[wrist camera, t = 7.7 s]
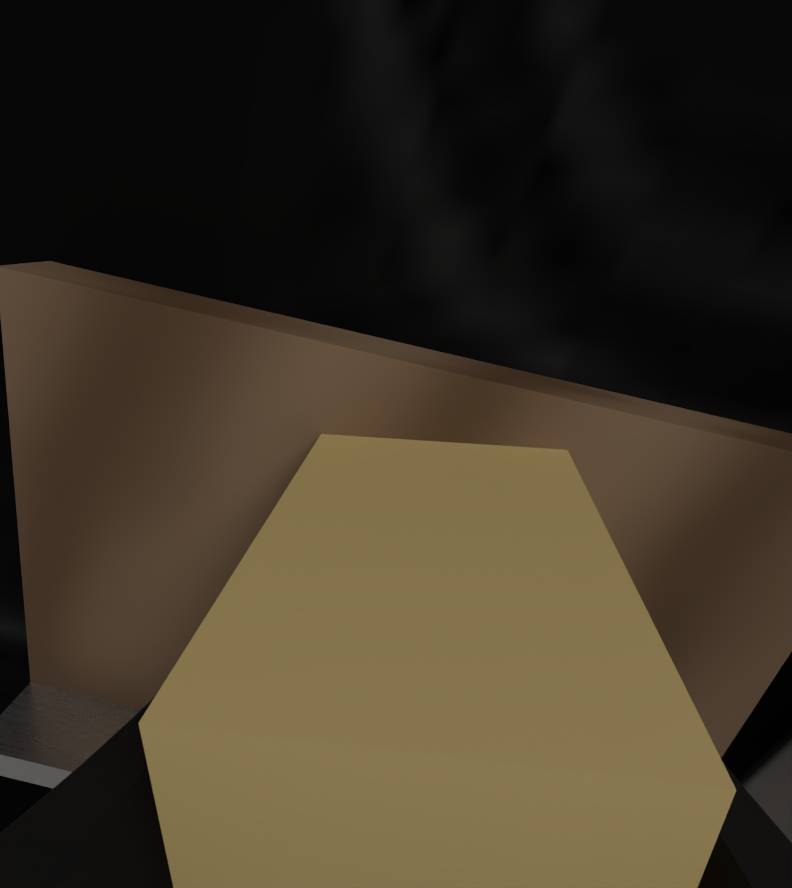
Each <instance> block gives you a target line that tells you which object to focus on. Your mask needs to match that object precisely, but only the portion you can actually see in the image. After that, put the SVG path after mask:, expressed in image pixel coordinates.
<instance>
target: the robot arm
mask: <svg viewBox="0 0 792 888" xmlns="http://www.w3.org/2000/svg"><path fill="white" fill-rule="evenodd" d="M154 698H155V697H154ZM154 698H153V699H154ZM153 699H152V700H151V701H150V702H149V703H147V704H146V705H145V706H144V707H143V708H142V709H141V710H140V711H139V712H138V713H137V714H136V715H135V716H134V717H133V718H132V719H131V720H130V721H128V722H127V723H126V724H125V725H124V726H123V727H122V728H121V729H120V730H119V731H118V732H116V733H115V734H114V735H113V736H112V737H111V738H110V739H109V740H108V741H107V742H106V743H104V744H103V745H102V746H101V747H100V748H99V749H98V750H97V751H96V752H95V753H93V754H92V755H91V756H90V757H89V758H88V759H87V760H86V761H85V762H83V763H82V764H81V765H80V766H79V767H78V768H77V769H76V770H74V771H73V772H72V773H71V774H70V775H69V776H67V777H66V778H65V779H64V780H63V781H61V782H60V783H59V784H58V785H57V786H56V787H54V788H53V789H52V790H51V791H50V792H49V793H47V794H46V795H45V796H44V797H43V798H41V799H40V800H39V801H38V802H37V803H36V804H34V805H33V806H32V807H31V808H30V809H29V810H27V811H26V812H25V813H24V814H23V815H21V816H20V817H19V818H18V819H16V820H15V821H14V822H13V823H11V824H10V825H9V826H8V827H6V828H5V829H4V830H3V831H1V832H0V888H173V883H172V879H171V874H170V869H169V865H168V860H167V855H166V851H165V846H164V841H163V836H162V832H161V827H160V822H159V818H158V813H157V808H156V804H155V799H154V794H153V789H152V785H151V780H150V775H149V771H148V766H147V761H146V757H145V752H144V747H143V743H142V738H141V733H140V728H139V724H138V723H139V721H140V720H141V718H142V717H143V715H144V713H145V712H146V710H147V709H148V707H149V706H150V704H151V702H152V701H153ZM722 762H723V761H722ZM723 764H724V763H723ZM724 766H725V768H726V770H727V772H728V774H729V776H730V778H731V780H732V782H733V784H734V786H735V788H736V793H735V795H734V798H733V800H732V803H731V805H730V808H729V810H728V813H727V815H726V818H725V820H724V823H723V825H722V828H721V830H720V833H719V835H718V838H717V840H716V843H715V845H714V848H713V850H712V853H711V855H710V858H709V860H708V863H707V865H706V868H705V870H704V873H703V875H702V878H701V880H700V883H699V885H698V888H792V843H791V842H790V841H789V839H788V838H787V837H786V836H785V835H784V834H783V833H782V831H781V830H780V829H779V828H778V827H777V826H776V824H775V823H774V822H773V821H772V820H771V819H770V818H769V816H768V815H767V814H766V813H765V812H764V811H763V809H762V808H761V807H760V806H759V805H758V803H757V802H756V801H755V800H754V799H753V798H752V796H751V795H750V794H749V793H748V792H747V790H746V789H745V788H744V787H743V786H742V784H741V783H740V782H739V781H738V780H737V778H736V777H735V776H734V775H733V774H732V772H731V771H730V770H729V769H728V768H727V766H726V765H725V764H724Z"/></svg>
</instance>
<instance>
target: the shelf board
mask: <svg viewBox="0 0 792 888" xmlns="http://www.w3.org/2000/svg"><path fill="white" fill-rule="evenodd" d="M0 315H1V327H2V340H3V352H4V364H5V376H6V388H7V400H8V413H9V425H10V437H11V449H12V461H13V473H14V486H15V498H16V510H17V522H18V534H19V547H20V559H21V571H22V583H23V595H24V607H25V620H26V632H27V644H28V656H29V668H30V680H31V682H32V683H36V684H40V685H44V686H48V687H52V688H56V689H60V690H65V691H69V692H73V693H77V694H81V695H85V696H89V697H93V698H98V699H102V700H106V701H110V702H114V703H118V704H122V705H127V706H131V707H135V708H139V709H142V708H143V707H144V706H145V705H146V704H147V703H149V702H150V701H151V700H152V699H153V698H154V697H155V696H156V694H157V693H158V691H159V690H160V688H161V687H162V685H163V683H164V682H165V680H166V679H167V677H168V675H169V674H170V672H171V671H172V669H173V668H174V666H175V664H176V663H177V661H178V660H179V658H180V656H181V655H182V653H183V652H184V650H185V649H186V647H187V645H188V644H189V642H190V641H191V639H192V637H193V636H194V634H195V633H196V631H197V630H198V628H199V626H200V625H201V623H202V622H203V620H204V618H205V617H206V615H207V614H208V612H209V611H210V609H211V607H212V606H213V604H214V603H215V601H216V599H217V598H218V596H219V595H220V593H221V592H222V590H223V588H224V587H225V585H226V584H227V582H228V580H229V579H230V577H231V576H232V574H233V573H234V571H235V569H236V568H237V566H238V565H239V563H240V561H241V560H242V558H243V557H244V555H245V554H246V552H247V550H248V549H249V547H250V546H251V544H252V542H253V541H254V539H255V538H256V536H257V535H258V533H259V531H260V530H261V528H262V527H263V525H264V523H265V522H266V520H267V519H268V517H269V516H270V514H271V512H272V511H273V509H274V508H275V506H276V504H277V503H278V501H279V500H280V498H281V497H282V495H283V493H284V492H285V490H286V489H287V487H288V485H289V484H290V482H291V481H292V479H293V478H294V476H295V474H296V473H297V471H298V470H299V468H300V466H301V465H302V463H303V462H304V460H305V459H306V457H307V455H308V454H309V452H310V451H311V449H312V447H313V446H314V444H315V443H316V441H317V439H318V438H319V436H320V435H321V434H329V435H345V436H360V437H376V438H391V439H407V440H422V441H438V442H453V443H469V444H485V445H500V446H516V447H531V448H547V449H562V450H568V452H569V454H570V456H571V458H572V460H573V462H574V464H575V466H576V468H577V470H578V472H579V474H580V476H581V478H582V480H583V482H584V484H585V486H586V488H587V490H588V492H589V494H590V496H591V498H592V500H593V502H594V504H595V506H596V508H597V510H598V512H599V514H600V517H601V519H602V521H603V523H604V525H605V527H606V529H607V531H608V533H609V535H610V537H611V539H612V541H613V543H614V545H615V547H616V549H617V551H618V553H619V555H620V557H621V559H622V561H623V563H624V565H625V567H626V569H627V571H628V573H629V575H630V577H631V579H632V581H633V583H634V585H635V587H636V589H637V591H638V593H639V595H640V597H641V599H642V601H643V603H644V605H645V607H646V609H647V611H648V613H649V615H650V617H651V619H652V621H653V623H654V625H655V627H656V629H657V631H658V633H659V635H660V637H661V639H662V641H663V643H664V645H665V647H666V649H667V651H668V653H669V655H670V657H671V659H672V661H673V663H674V665H675V667H676V669H677V671H678V673H679V675H680V677H681V679H682V681H683V683H684V685H685V687H686V690H687V692H688V694H689V696H690V698H691V700H692V702H693V704H694V706H695V708H696V710H697V712H698V714H699V716H700V718H701V720H702V722H703V724H704V726H705V728H706V730H707V732H708V734H709V736H710V738H711V740H712V742H713V744H714V746H715V748H716V750H717V752H718V754H719V756H720V758H721V757H722V756H723V754H724V753H725V751H726V750H727V748H728V747H729V745H730V744H731V742H732V741H733V739H734V738H735V736H736V735H737V733H738V732H739V730H740V729H741V727H742V726H743V724H744V723H745V721H746V720H747V718H748V717H749V715H750V714H751V712H752V711H753V709H754V708H755V706H756V705H757V703H758V701H759V700H760V698H761V697H762V695H763V694H764V692H765V691H766V689H767V688H768V686H769V685H770V683H771V682H772V680H773V679H774V677H775V676H776V674H777V673H778V671H779V670H780V668H781V667H782V665H783V664H784V662H785V661H786V659H787V658H788V656H789V655H790V653H791V652H792V434H791V433H787V432H782V431H778V430H774V429H770V428H765V427H761V426H757V425H752V424H748V423H744V422H739V421H735V420H731V419H727V418H722V417H718V416H714V415H709V414H705V413H701V412H696V411H692V410H688V409H684V408H679V407H675V406H671V405H666V404H662V403H658V402H654V401H649V400H645V399H641V398H636V397H632V396H628V395H623V394H619V393H615V392H611V391H606V390H602V389H598V388H593V387H589V386H585V385H580V384H576V383H572V382H568V381H563V380H559V379H555V378H550V377H546V376H542V375H537V374H533V373H529V372H525V371H520V370H516V369H512V368H507V367H503V366H499V365H494V364H490V363H486V362H482V361H477V360H473V359H469V358H464V357H460V356H456V355H451V354H447V353H443V352H439V351H434V350H430V349H426V348H421V347H417V346H413V345H409V344H404V343H400V342H396V341H391V340H387V339H383V338H378V337H374V336H370V335H366V334H361V333H357V332H353V331H348V330H344V329H340V328H335V327H331V326H327V325H323V324H318V323H314V322H310V321H305V320H301V319H297V318H292V317H288V316H284V315H280V314H275V313H271V312H267V311H262V310H258V309H254V308H249V307H245V306H241V305H237V304H232V303H228V302H224V301H219V300H215V299H211V298H206V297H202V296H198V295H194V294H189V293H185V292H181V291H176V290H172V289H168V288H164V287H159V286H155V285H151V284H146V283H142V282H138V281H133V280H129V279H125V278H121V277H116V276H112V275H108V274H103V273H99V272H95V271H90V270H86V269H82V268H78V267H73V266H69V265H65V264H60V263H56V262H52V261H45V262H34V263H24V264H13V265H3V266H0Z"/></svg>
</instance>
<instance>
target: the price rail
mask: <svg viewBox="0 0 792 888" xmlns="http://www.w3.org/2000/svg"><path fill="white" fill-rule="evenodd" d="M140 710H141V709H139V708H135V707H131V706H127V705H122V704H118V703H114V702H110V701H106V700H102V699H98V698H93V697H89V696H85V695H81V694H77V693H73V692H69V691H65V690H60V689H56V688H52V687H48V686H44V685H40V684H36V683H32V682H30V684H29V685H28V686H27V687H26V688H25V689H24V690H23V691H22V692H21V693H20V694H19V695H18V697H17V698H16V699H15V700H14V701H13V702H12V703H11V704H10V705H9V706H8V707H7V708H6V710H5V711H4V712H3V713H2V714H1V715H0V776H4V777H9V778H13V779H17V780H21V781H25V782H29V783H33V784H37V785H41V786H45V787H49V788H54V787H56V786H57V785H58V784H59V783H60V782H61V781H63V780H64V779H65V778H66V777H67V776H69V775H70V774H71V773H72V772H73V771H74V770H76V769H77V768H78V767H79V766H80V765H81V764H82V763H83V762H85V761H86V760H87V759H88V758H89V757H90V756H91V755H92V754H93V753H95V752H96V751H97V750H98V749H99V748H100V747H101V746H102V745H103V744H104V743H106V742H107V741H108V740H109V739H110V738H111V737H112V736H113V735H114V734H115V733H116V732H118V731H119V730H120V729H121V728H122V727H123V726H124V725H125V724H126V723H127V722H128V721H130V720H131V719H132V718H133V717H134V716H135V715H136V714H137V713H138V712H139V711H140Z"/></svg>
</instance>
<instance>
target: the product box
mask: <svg viewBox="0 0 792 888" xmlns="http://www.w3.org/2000/svg"><path fill="white" fill-rule="evenodd" d="M138 724H139V728H140V733H141V738H142V743H143V747H144V752H145V757H146V761H147V766H148V771H149V775H150V780H151V785H152V789H153V794H154V799H155V804H156V808H157V813H158V818H159V822H160V827H161V832H162V836H163V841H164V846H165V851H166V855H167V860H168V865H169V869H170V874H171V879H172V883H173V888H698V885H699V883H700V880H701V878H702V875H703V873H704V870H705V868H706V865H707V863H708V860H709V858H710V855H711V853H712V850H713V848H714V845H715V843H716V840H717V838H718V835H719V833H720V830H721V828H722V825H723V823H724V820H725V818H726V815H727V813H728V810H729V808H730V805H731V803H732V800H733V798H734V795H735V793H736V788H735V786H734V784H733V782H732V780H731V778H730V776H729V774H728V772H727V770H726V768H725V766H724V764H723V762H722V760H721V758H720V756H719V754H718V752H717V750H716V748H715V746H714V744H713V742H712V740H711V738H710V736H709V734H708V732H707V730H706V728H705V726H704V724H703V722H702V720H701V718H700V716H699V714H698V712H697V710H696V708H695V706H694V704H693V702H692V700H691V698H690V696H689V694H688V692H687V690H686V687H685V685H684V683H683V681H682V679H681V677H680V675H679V673H678V671H677V669H676V667H675V665H674V663H673V661H672V659H671V657H670V655H669V653H668V651H667V649H666V647H665V645H664V643H663V641H662V639H661V637H660V635H659V633H658V631H657V629H656V627H655V625H654V623H653V621H652V619H651V617H650V615H649V613H648V611H647V609H646V607H645V605H644V603H643V601H642V599H641V597H640V595H639V593H638V591H637V589H636V587H635V585H634V583H633V581H632V579H631V577H630V575H629V573H628V571H627V569H626V567H625V565H624V563H623V561H622V559H621V557H620V555H619V553H618V551H617V549H616V547H615V545H614V543H613V541H612V539H611V537H610V535H609V533H608V531H607V529H606V527H605V525H604V523H603V521H602V519H601V517H600V514H599V512H598V510H597V508H596V506H595V504H594V502H593V500H592V498H591V496H590V494H589V492H588V490H587V488H586V486H585V484H584V482H583V480H582V478H581V476H580V474H579V472H578V470H577V468H576V466H575V464H574V462H573V460H572V458H571V456H570V454H569V452H568V450H562V449H547V448H531V447H516V446H500V445H485V444H469V443H453V442H438V441H422V440H407V439H391V438H376V437H360V436H345V435H329V434H321V435H320V436H319V438H318V439H317V441H316V443H315V444H314V446H313V447H312V449H311V451H310V452H309V454H308V455H307V457H306V459H305V460H304V462H303V463H302V465H301V466H300V468H299V470H298V471H297V473H296V474H295V476H294V478H293V479H292V481H291V482H290V484H289V485H288V487H287V489H286V490H285V492H284V493H283V495H282V497H281V498H280V500H279V501H278V503H277V504H276V506H275V508H274V509H273V511H272V512H271V514H270V516H269V517H268V519H267V520H266V522H265V523H264V525H263V527H262V528H261V530H260V531H259V533H258V535H257V536H256V538H255V539H254V541H253V542H252V544H251V546H250V547H249V549H248V550H247V552H246V554H245V555H244V557H243V558H242V560H241V561H240V563H239V565H238V566H237V568H236V569H235V571H234V573H233V574H232V576H231V577H230V579H229V580H228V582H227V584H226V585H225V587H224V588H223V590H222V592H221V593H220V595H219V596H218V598H217V599H216V601H215V603H214V604H213V606H212V607H211V609H210V611H209V612H208V614H207V615H206V617H205V618H204V620H203V622H202V623H201V625H200V626H199V628H198V630H197V631H196V633H195V634H194V636H193V637H192V639H191V641H190V642H189V644H188V645H187V647H186V649H185V650H184V652H183V653H182V655H181V656H180V658H179V660H178V661H177V663H176V664H175V666H174V668H173V669H172V671H171V672H170V674H169V675H168V677H167V679H166V680H165V682H164V683H163V685H162V687H161V688H160V690H159V691H158V693H157V694H156V696H155V698H154V699H153V701H152V702H151V704H150V706H149V707H148V709H147V710H146V712H145V713H144V715H143V717H142V718H141V720H140V721H139V723H138Z"/></svg>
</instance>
